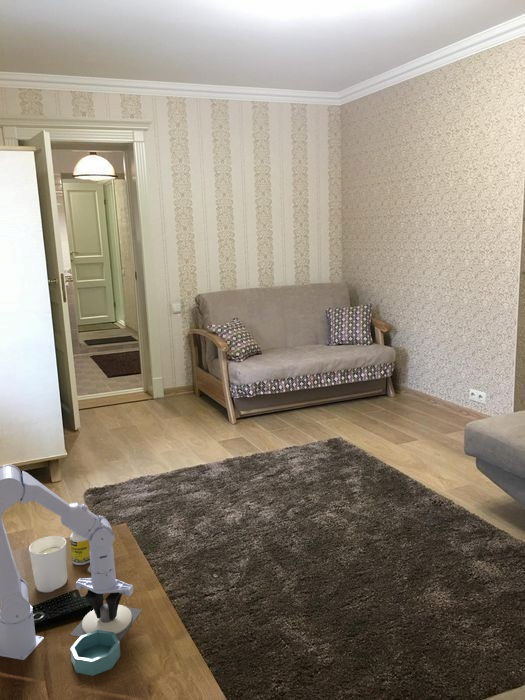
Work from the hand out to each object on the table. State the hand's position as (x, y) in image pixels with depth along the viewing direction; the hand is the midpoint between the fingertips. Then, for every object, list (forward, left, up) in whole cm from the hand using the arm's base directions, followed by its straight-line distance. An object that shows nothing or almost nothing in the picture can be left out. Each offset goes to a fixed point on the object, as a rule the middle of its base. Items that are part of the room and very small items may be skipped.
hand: (106, 617), depth 149 cm
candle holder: (-24, +12, -2) cm, 27 cm away
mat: (0, 0, -2) cm, 2 cm away
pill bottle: (-22, +26, -2) cm, 34 cm away
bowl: (+4, -12, -2) cm, 13 cm away
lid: (0, 0, -1) cm, 1 cm away
